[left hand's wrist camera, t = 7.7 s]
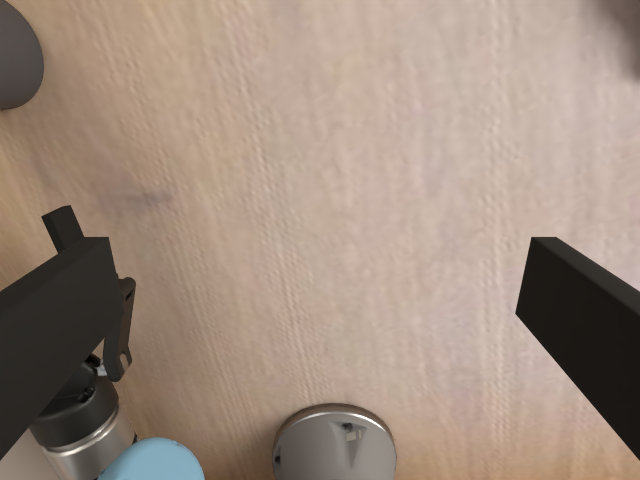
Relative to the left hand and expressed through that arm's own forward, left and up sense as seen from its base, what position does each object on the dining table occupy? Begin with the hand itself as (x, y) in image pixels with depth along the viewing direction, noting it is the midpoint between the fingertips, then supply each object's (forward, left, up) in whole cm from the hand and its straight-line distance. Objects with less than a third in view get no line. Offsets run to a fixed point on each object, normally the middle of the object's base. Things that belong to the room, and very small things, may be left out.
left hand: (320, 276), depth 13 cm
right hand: (+5, -28, -19) cm, 35 cm away
